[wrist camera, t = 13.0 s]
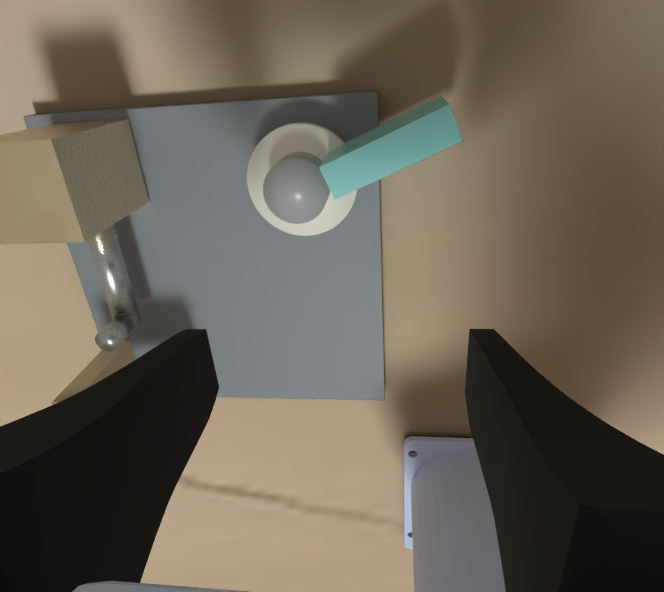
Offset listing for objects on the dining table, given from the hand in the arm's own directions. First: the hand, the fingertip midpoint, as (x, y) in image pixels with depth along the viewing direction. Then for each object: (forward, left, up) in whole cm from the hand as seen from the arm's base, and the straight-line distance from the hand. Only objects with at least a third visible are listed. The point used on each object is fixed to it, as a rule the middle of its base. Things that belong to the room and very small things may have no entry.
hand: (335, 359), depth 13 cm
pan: (+4, 0, -8) cm, 9 cm away
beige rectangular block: (+1, +11, -9) cm, 14 cm away
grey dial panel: (-2, +7, -10) cm, 12 cm away
